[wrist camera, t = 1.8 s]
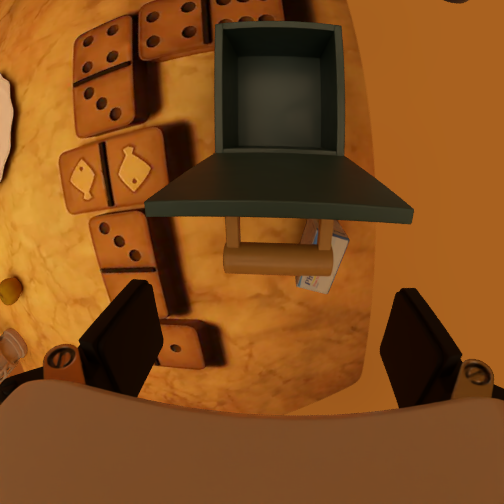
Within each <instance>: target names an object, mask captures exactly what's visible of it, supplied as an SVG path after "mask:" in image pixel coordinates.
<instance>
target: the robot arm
mask: <svg viewBox="0 0 504 504" xmlns="http://www.w3.org/2000/svg"><path fill="white" fill-rule="evenodd" d="M79 343H80V346H79V347H78V348H77V347H75V346H74V345H71V344H61V345H58V346H55V347H53V348H52V349H50V350H49V351H48V352H47V353H46V355H45V357H44V360H43V367H40V368H36V369H33V370H30V371H27V372H24V373H21V374H17V375H14V376H11V377H9V378H6V379H4V380H3V381H2V383H1V384H0V504H504V389H503V388H501V387H498V386H496V385H494V374H493V372H492V370H491V368H490V367H489V366H488V365H487V364H485V363H484V362H482V361H480V360H476V359H469V360H465V361H464V362H462V361H461V359H460V358H461V356H462V353H461V352H460V350H459V348H458V347H457V345H456V344H455V342H454V341H453V339H452V338H451V336H450V335H449V333H448V332H447V330H446V329H445V327H444V326H443V325H442V323H441V322H440V320H439V319H438V318H437V316H436V315H435V313H434V312H433V311H432V309H431V308H430V307H429V305H428V304H427V303H426V301H425V300H424V299H423V297H422V296H421V295H420V293H419V292H418V291H417V289H415V288H402V289H401V290H400V291H399V292H397V293H396V294H395V298H394V302H393V305H392V309H391V313H390V317H389V320H388V323H387V327H386V330H385V333H384V336H383V340H382V343H381V346H380V355H381V358H382V361H383V363H384V366H385V369H386V371H387V374H388V377H389V380H390V382H391V386H392V388H393V391H394V394H395V397H396V400H397V403H398V406H399V409H391V410H384V411H375V412H366V413H354V414H339V415H314V416H313V415H311V416H284V415H258V414H243V413H231V412H221V411H212V410H204V409H197V408H190V407H183V406H177V405H171V404H166V403H161V402H156V401H151V400H146V399H141V398H137V396H138V394H139V392H140V390H141V388H142V386H143V384H144V382H145V380H146V378H147V376H148V374H149V372H150V370H151V368H152V366H153V364H154V362H155V360H156V358H157V356H158V354H159V352H160V350H161V348H162V346H163V335H162V331H161V326H160V322H159V317H158V312H157V308H156V303H155V297H154V292H153V287H152V285H151V284H149V283H148V281H147V280H138V279H133V280H131V281H130V282H129V283H128V285H127V286H126V287H125V288H124V289H123V290H122V291H121V292H120V293H119V294H118V295H117V297H116V298H115V299H114V300H113V301H112V302H111V303H110V304H109V305H108V307H107V308H106V309H105V310H104V311H103V312H102V313H101V314H100V316H99V317H98V318H97V319H96V320H95V321H94V322H93V324H92V325H91V326H90V327H89V328H88V329H87V331H86V332H85V333H84V334H83V335H82V337H81V338H80V339H79Z"/></svg>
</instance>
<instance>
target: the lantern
mask: <svg viewBox="0 0 504 504" xmlns="http://www.w3.org/2000/svg"><path fill="white" fill-rule="evenodd" d="M26 353H27V346H26V344H25V342H24V340H23V339H22V337H21V336H20V335H19V334H18V333H17V332H16V331H15V330H13V329H11V328H10V329H7V330H6V331H4V333H3V335H2V336H0V378H1V377H2V376H3V375H4V377H2V378H1V379H0V382H2V381H3V380H4V379H5V378H6V377H7V376H8V375H9V374H10V372H11V371H12V370H13V369H14V368H15V367H16V365H17V364H18V360H19V359H20V358H23V357H24V356H25V355H26ZM9 368H11V369H10V370H9V371H8V373H7V370H8V369H9Z"/></svg>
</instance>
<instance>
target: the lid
mask: <svg viewBox="0 0 504 504" xmlns="http://www.w3.org/2000/svg"><path fill="white" fill-rule="evenodd" d="M144 205H145V212H146V216H147V217H172V216H211V217H225V225H226V244H225V246H224V252H223V266H224V271H225V273H235V274H261V275H292V276H331V273H332V270H333V249H332V246H331V242H332V233H333V224H334V220H350V221H368V222H385V223H400V224H411V223H412V218H413V213H414V209H413V208H412V207H411V206H409V205H408V204H407V203H406V202H405V201H403V200H402V199H401V198H400V197H399V196H397V195H396V194H395V193H394V192H392V191H391V190H390V189H389V188H387V187H386V186H385V185H383V184H382V183H381V182H379V181H378V180H377V179H376V178H374V177H373V176H372V175H370V174H369V173H368V172H366V171H365V170H363V169H362V168H361V167H359V166H358V165H356V164H355V163H354V162H352V161H351V160H349V159H348V158H346V157H345V156H334V155H318V154H298V153H214V154H213V155H211V156H210V157H208V158H206V159H205V160H203V161H202V162H200V163H199V164H197V165H196V166H194V167H193V168H191V169H190V170H188V171H187V172H185V173H184V174H182V175H181V176H179V177H178V178H177V179H175V180H174V181H172V182H171V183H169V184H168V185H167V186H165V187H164V188H162V189H161V190H160V191H158V192H157V193H155V194H154V195H153V196H151V197H150V198H149V199H147V200H146V201H145V202H144ZM240 217H272V218H304V219H319V228H318V239H317V244H290V243H256V242H241V239H240Z"/></svg>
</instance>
